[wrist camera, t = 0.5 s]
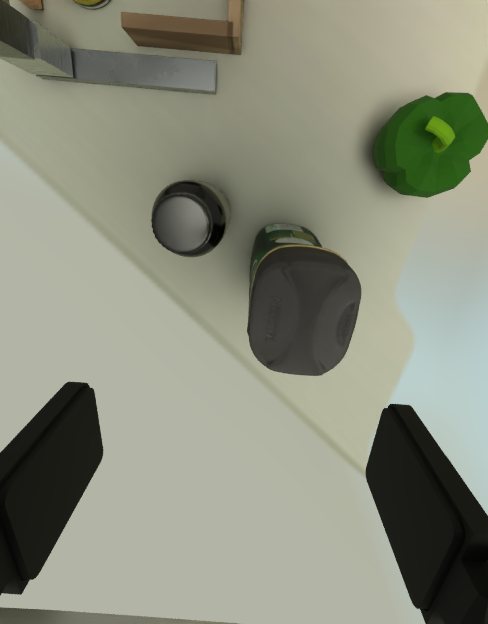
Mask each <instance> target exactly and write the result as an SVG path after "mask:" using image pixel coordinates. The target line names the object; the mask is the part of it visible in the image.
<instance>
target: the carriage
mask: <svg viewBox="0 0 488 624" xmlns="http://www.w3.org/2000/svg"><path fill="white" fill-rule="evenodd" d="M19 1H21V2H22V3H23V4H25V5H26V6H27V7H29V8H34V9H42V4H41V0H19ZM0 59H2V60H4V61H6V62H8V63H10V64H13V65H15V66H17V67H19V68H21V69H23V70H25V71H27V72H29V73H31V74H38V75H49V76H60V77H72V78H73V69H72V59H71V49H70V46H69V45H67V44H66V43H64V42H63V41H62V40H60V39H59V38H58V37H56V36H55V35H54V34H52V33H51V32H49V31H48V30H47V29H45V28H44V27H43V26H41V25H40V24H39V23H37V22H36V21H29V19H28V18H27V17H25V16H24V15H23V14H21V13H20V12H18V11H17V10H16V9H14V8H13V7H11V6H10V3H9V0H0Z"/></svg>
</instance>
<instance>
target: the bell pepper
mask: <svg viewBox="0 0 488 624" xmlns="http://www.w3.org/2000/svg"><path fill="white" fill-rule="evenodd" d="M487 140H488V123H487V121H486V119H485V117H484V115H483V113H482V111H481V109H480V108H479V106H478V104H477V102H476V101H475V99H474V97H473V96H472V95H471V94H469V93H448V92H446V93H444V94H442V95H440V96H438V97H436V98H432V97H429V96H427V95H426V96H424V97H422V98H420V99H417V100H415V101H413V102H410V103H408V104H407V105H405V106H403V107H401V108H399V109H398V111H397V112H396V113H395V114H394V115H393V116H392V118H391V119H390V120H389V121H388V122H387V123H386V125H385V126H384V127H383V128H382V129H381V131H380V132H379V134H378V136H377V139H376V143H375V146H374V149H373V155H374V160H375V164H376V167H377V168H378V169H381V170H383V171H384V180H385V182H386V183H387V184H388V185H389V186H390V187H392V188H393V189H394V190H396V191H397V192H398V193H400V194H403V195H411V196H419V197H426V198H428V197H431V196H433V195H436V194H439V193H442V192H445V191H448V190H451V189H453V188H455V187H456V186H457V185H458V184H459V183H460V182H461V181H462V180H463V179H464V178H465V177H466V176H467V175H468V174H469V173H470V172H471V170H470V164H469V160H470V159H472V158H473V157H475V156H476V155H478V154H479V153H480V152H481V150H482V148H483V147H484V145H485V143H486V141H487Z"/></svg>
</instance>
